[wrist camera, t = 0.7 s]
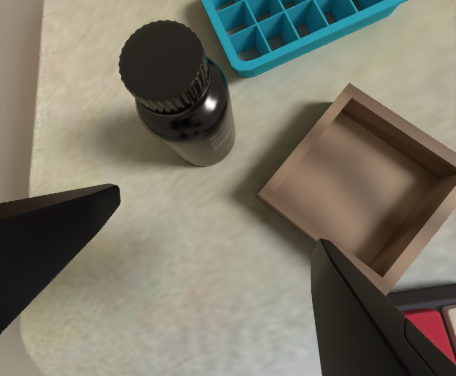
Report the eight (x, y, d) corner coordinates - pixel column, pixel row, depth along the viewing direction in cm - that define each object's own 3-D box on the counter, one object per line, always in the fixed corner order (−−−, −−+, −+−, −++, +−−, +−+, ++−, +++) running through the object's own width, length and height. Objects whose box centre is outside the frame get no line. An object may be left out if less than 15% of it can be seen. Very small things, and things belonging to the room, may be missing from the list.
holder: (363, 282, 20) (385, 296, 17) (256, 196, 22) (258, 193, 19) (446, 177, 20) (484, 171, 17) (334, 101, 22) (349, 82, 19)
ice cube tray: (408, 16, 23) (432, -13, 20) (238, 92, 24) (236, 75, 21) (358, -64, 24) (373, -102, 21) (200, 11, 25) (194, -16, 22)
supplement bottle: (223, 98, 23) (199, -17, 11) (244, 154, 22) (241, 91, 11) (167, 120, 24) (86, 30, 12) (185, 176, 23) (118, 139, 11)
